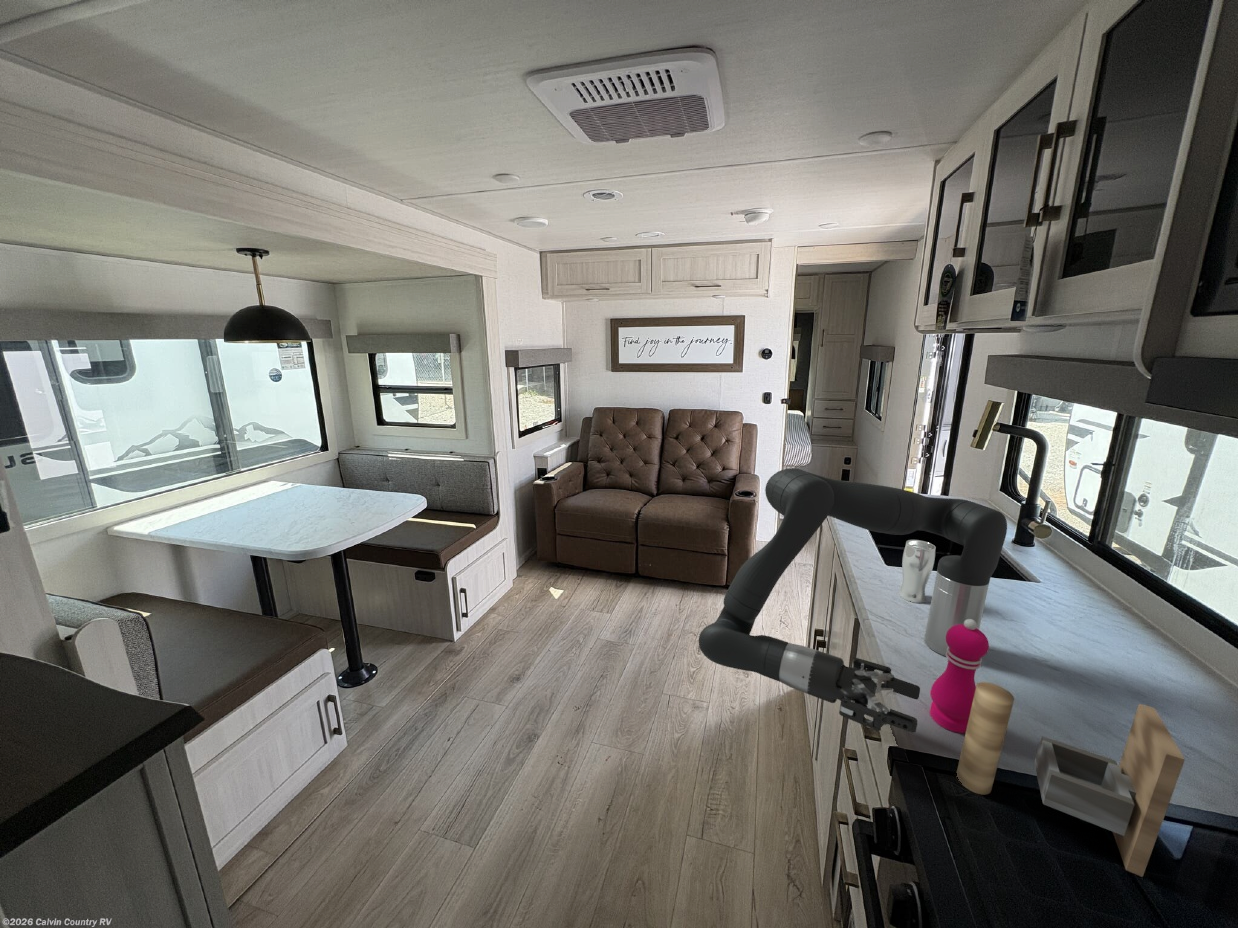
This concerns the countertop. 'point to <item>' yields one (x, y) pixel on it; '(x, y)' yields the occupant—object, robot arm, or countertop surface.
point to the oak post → (984, 737)
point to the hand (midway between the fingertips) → (918, 708)
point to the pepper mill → (958, 676)
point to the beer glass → (916, 569)
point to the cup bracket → (1116, 785)
